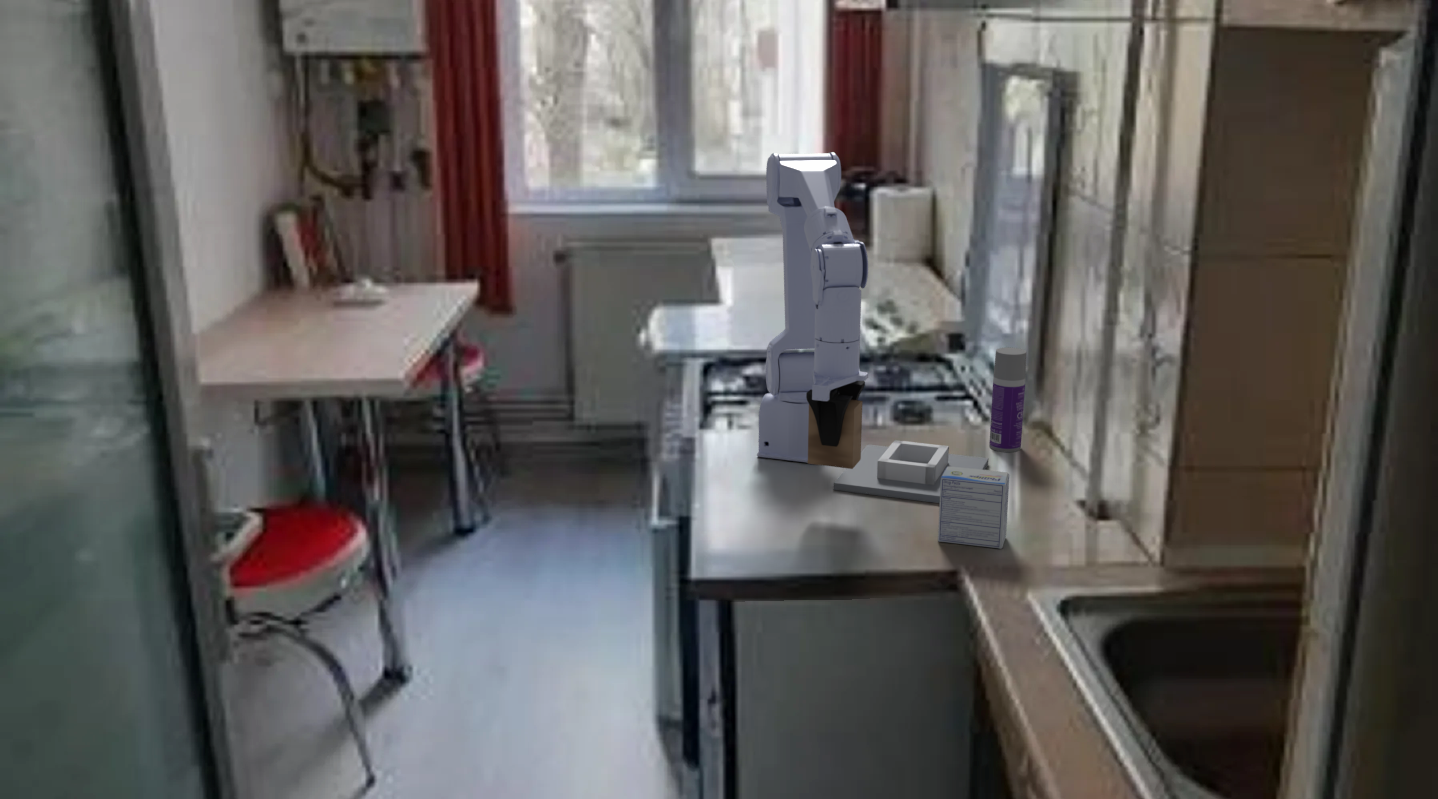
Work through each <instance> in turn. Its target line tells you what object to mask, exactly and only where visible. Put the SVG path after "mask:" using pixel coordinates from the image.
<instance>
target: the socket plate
mask: <svg viewBox="0 0 1438 799" xmlns="http://www.w3.org/2000/svg"><path fill="white" fill-rule="evenodd" d="M949 451H950V446H949V445H943V444H942V445H941V444H932V443H923V442H916V441H915V442H914V441H908V440H898V439H897V440H896V439H894V440H893V441H892V442H891V444H890V445H889V446H886V445H885V446H884V445H876V444H875V445H874V444H869V443H867V444H866V445H865V447H864V448H863V449H861V460H860V461H859V462H858V463H857V464H856V466H855V467H854V468H853V469H848V468H844V471H843V472H842V473H840V475H839V476H838V477H837V478H836V480H834V482H833V491H839V492H840V491H841V492H848V493H849V492H850V493H857V494H862V495H863V494H864V495H872V496H880V497H887V498H894V499H895V498H896V499H902V500H903V499H905V500H911V501H917V502H918V501H920V502H926V503H927V502H928V503H935V504H940V481H941V477H942V475H943V473H944V471H945V470H946V468H947V467H948V466H950V467H961V468H971V469H982V470H987V467H988V466H989V458H988V457H982V456H981V457H980V456H971V455H963V454H954V453H950V452H949Z"/></svg>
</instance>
